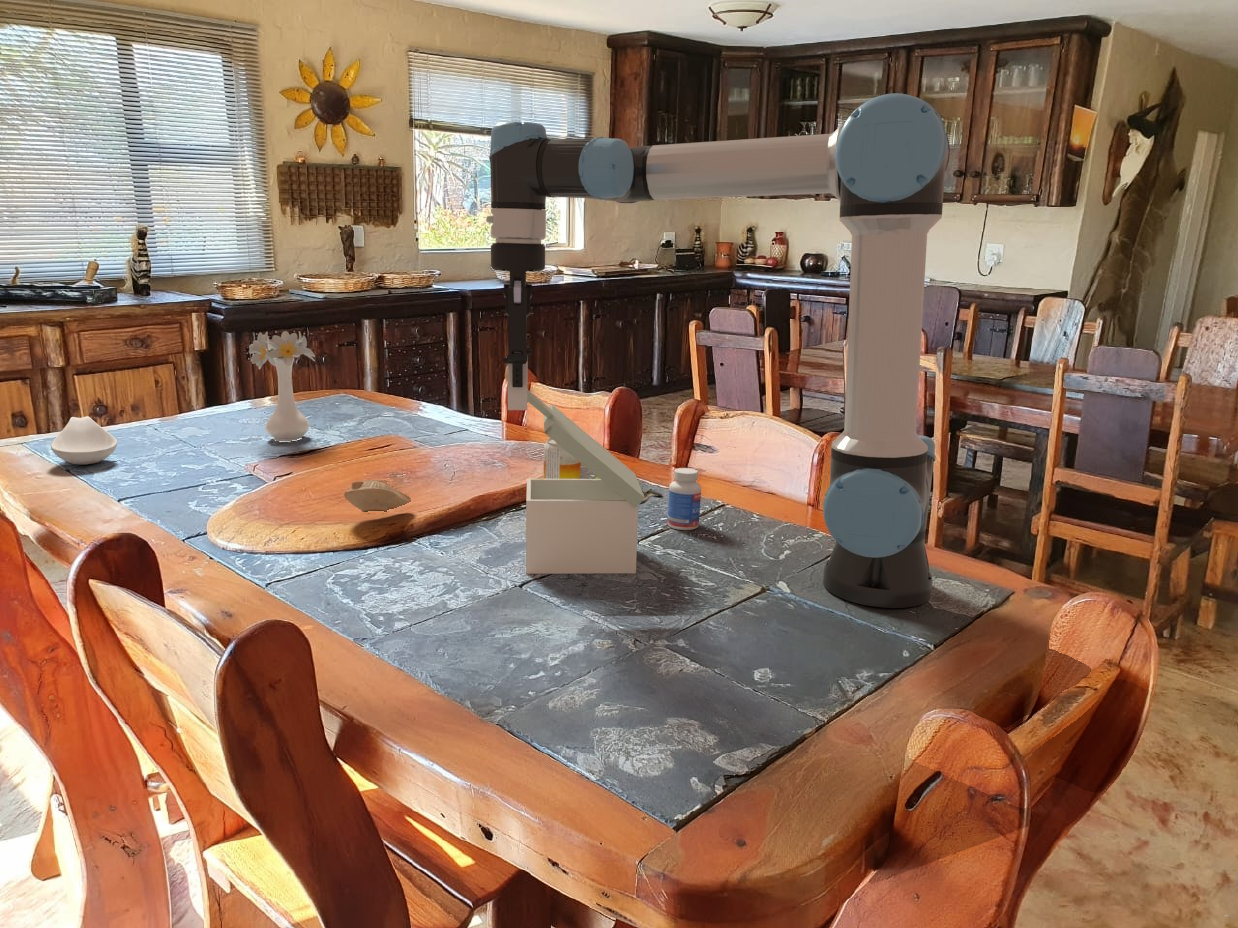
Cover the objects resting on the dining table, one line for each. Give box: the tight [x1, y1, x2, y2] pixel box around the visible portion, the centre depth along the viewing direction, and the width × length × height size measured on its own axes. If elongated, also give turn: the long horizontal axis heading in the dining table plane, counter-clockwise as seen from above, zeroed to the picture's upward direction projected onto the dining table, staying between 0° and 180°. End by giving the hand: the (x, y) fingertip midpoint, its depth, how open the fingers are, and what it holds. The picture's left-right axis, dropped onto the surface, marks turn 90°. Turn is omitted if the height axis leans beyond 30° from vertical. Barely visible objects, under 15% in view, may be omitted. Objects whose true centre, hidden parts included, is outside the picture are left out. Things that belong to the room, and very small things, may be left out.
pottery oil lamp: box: [343, 479, 412, 513], centre depth 157 cm, size 9×12×7 cm
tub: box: [525, 478, 639, 575], centre depth 138 cm, size 16×12×11 cm
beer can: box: [543, 437, 582, 479], centre depth 152 cm, size 6×6×15 cm
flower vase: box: [248, 330, 316, 442], centre depth 206 cm, size 13×18×25 cm
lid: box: [504, 364, 645, 508], centre depth 134 cm, size 26×13×4 cm
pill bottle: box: [667, 467, 702, 531], centre depth 156 cm, size 6×5×10 cm
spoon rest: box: [50, 415, 118, 465], centre depth 191 cm, size 24×12×7 cm, turn 33°
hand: (518, 404), depth 133 cm, fingers closed on lid, 8 cm apart
